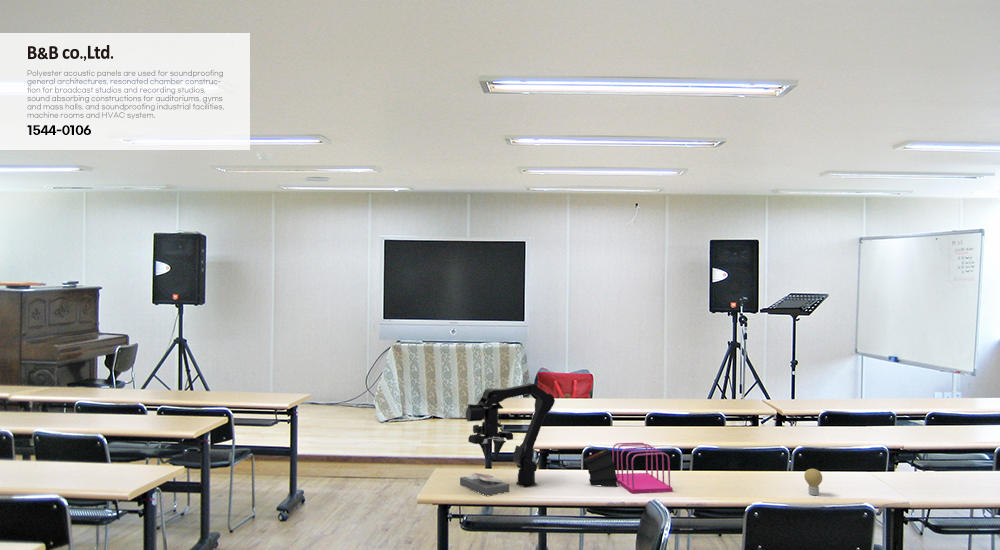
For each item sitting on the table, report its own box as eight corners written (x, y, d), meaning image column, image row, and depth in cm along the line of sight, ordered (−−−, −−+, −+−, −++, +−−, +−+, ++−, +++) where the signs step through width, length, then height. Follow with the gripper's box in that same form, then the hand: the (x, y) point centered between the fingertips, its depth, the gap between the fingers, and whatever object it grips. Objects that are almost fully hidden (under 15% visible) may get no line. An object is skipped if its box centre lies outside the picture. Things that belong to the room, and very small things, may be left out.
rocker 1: (487, 476, 258) (488, 474, 259) (493, 479, 255) (493, 476, 255) (471, 475, 254) (472, 472, 254) (477, 477, 251) (477, 474, 251)
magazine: (624, 483, 256) (608, 449, 258) (595, 496, 257) (579, 462, 258) (623, 480, 260) (607, 447, 261) (595, 493, 260) (579, 460, 262)
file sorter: (631, 494, 246) (631, 453, 248) (610, 478, 271) (610, 441, 272) (673, 492, 249) (672, 452, 251) (648, 476, 274) (647, 440, 275)
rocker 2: (495, 480, 253) (496, 477, 254) (501, 482, 250) (502, 479, 250) (479, 478, 249) (480, 475, 249) (485, 480, 246) (485, 477, 246)
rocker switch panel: (482, 481, 265) (482, 471, 265) (509, 491, 248) (509, 482, 249) (460, 484, 259) (460, 475, 259) (486, 496, 242) (486, 486, 242)
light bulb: (802, 494, 246) (801, 468, 247) (808, 491, 251) (807, 466, 251) (819, 497, 242) (818, 471, 242) (825, 494, 246) (824, 469, 247)
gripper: (498, 415, 267) (498, 452, 266) (461, 419, 256) (461, 457, 255) (514, 419, 258) (513, 457, 257) (475, 423, 247) (475, 463, 246)
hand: (490, 458), depth 254 cm, fingers open, 4 cm apart
